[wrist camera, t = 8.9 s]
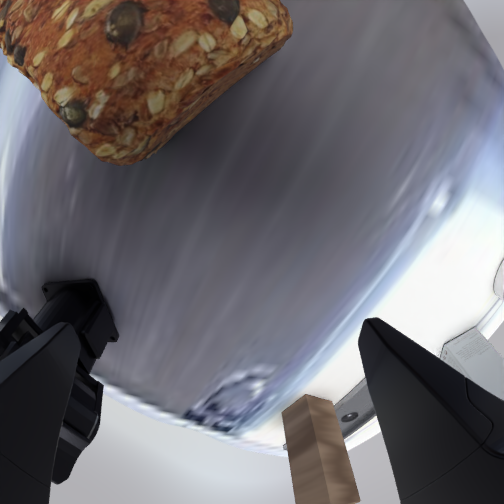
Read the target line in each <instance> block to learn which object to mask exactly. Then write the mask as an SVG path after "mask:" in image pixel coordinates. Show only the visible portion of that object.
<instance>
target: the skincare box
mask: <svg viewBox="0 0 504 504" xmlns="http://www.w3.org/2000/svg"><path fill="white" fill-rule="evenodd" d="M440 359H441V360H442V361H444V362H445V363H447V364H448V365H450V366H451V367H453V368H454V369H456V370H457V371H458V372H460V373H461V374H463V375H464V376H465V377H467V378H469V379H470V380H472V381H473V382H475V383H476V384H478V385H479V386H481V387H482V388H484V389H485V390H487V391H488V392H490V393H492V394H493V395H495V396H497V397H498V398H500V399H502V400H504V358H503V357H502V356H501V355H500V353H499V352H498V351H497V350H496V349H495V348H494V347H493V346H492V344H491V343H490V342H489V341H488V340H487V339H486V338H485V337H484V336H483V335H482V334H481V332H480V331H479V330H478V329H477V328H476V327H474V328H473V329H471V330H469V331H468V332H466V333H464V334H462V335H461V336H459V337H457V338H456V339H454V340H452V341H450V342H448V343H447V344H445V345H444V347H443V350H442V354H441V357H440Z"/></svg>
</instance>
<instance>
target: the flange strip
mask: <svg viewBox="0 0 504 504" xmlns="http://www.w3.org/2000/svg"><path fill="white" fill-rule="evenodd" d="M334 409H335V413H336V416H337V419H338V423H339V426H340V429H341V433H342V436H343V439H345V438H347V437H348V436H350V435H351V434H352V433H354V432H355V431H357V430H358V429H359V428H361V427H362V426H363V425H365V424H366V423H367V422H368V421H370V420H371V419H372V418H374V417H375V416H376V412H375V409H374V406H373V403H372V400H371V397H370V394H369V390H368V386H367V382H366V378H364V379H363V380H362V381H361V382H360V383H359V384H358V385H357V386H356V387H355V388H354V389H353V390H352V391H351V392H350V393H348V394H347V395H346V396H345V397H344V398H343V399H342V400H341V401H340V402H338V403H337V404H336V405H335V406H334ZM283 449H284V450H287V444H285V445H283Z"/></svg>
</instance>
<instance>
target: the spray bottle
mask: <svg viewBox="0 0 504 504" xmlns="http://www.w3.org/2000/svg"><path fill="white" fill-rule="evenodd" d="M494 291H495V294H496V295H497V296H498V297H499V298H500V299H501V300H502V301H503V302H504V260H503V262H502V264H501V265H500V267H499V270H498V272H497V275H496V278H495V282H494Z"/></svg>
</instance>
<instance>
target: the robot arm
mask: <svg viewBox="0 0 504 504" xmlns="http://www.w3.org/2000/svg"><path fill="white" fill-rule="evenodd" d="M91 285H92V286H93V287H91ZM42 290H43V293H44V295H45V297H46V299H47V303H46V304H45V305H44V306H43V308H42V309H41V310H40V311H39V313H38V314H37V315H36V316H35V318H34V319H32V318H31V317H30V316H29V315H28V312H27V311H26V310H25V309H24V308H23V309H22V310H21V311H20V313H19V314H18V313H17V312H14V311H12V310H10V311H9V312H8V313H7V314H6V315H5V317H4V318H3V319H2V320H1V322H0V504H49V497H50V487H51V482H53V483H55V484H60V483H62V482H63V481H65V480H67V479H68V478H69V476H70V473H71V471H72V468H73V466H74V464H75V462H76V460H77V458H78V457H79V455H80V454H81V452H82V451H83V450H84V449H85V447H87V446H88V445H89V444H90V443H91V442H92V440H93V439H94V437H95V436H96V434H97V431H98V428H99V425H100V416H101V406H102V396H103V387H104V385H103V384H101V383H100V382H99V381H96V380H95V379H94V378H93V377H91V376H90V375H89V374H90V372H91V370H92V367H93V365H94V363H95V361H96V359H100V357H101V355H102V353H103V351H104V349H105V346H106V344H107V342H117V340H118V338H119V336H118V333H117V331H116V329H115V326H114V323H113V321H112V319H111V316H110V314H109V312H108V309H107V307H106V305H105V303H104V300H103V298H102V295H101V293H100V290H99V287H98V285H97V283H96V282H95V281H94V280H79V281H65V282H51V283H44V285H43V286H42ZM358 346H359V351H360V355H361V359H362V364H363V368H364V373H365V378H366V382H367V386H368V390H369V394H370V397H371V400H372V403H373V406H374V409H375V412H376V415H377V418H378V422H379V425H380V428H381V431H382V435H383V438H384V441H385V445H386V448H387V452H388V455H389V459H390V463H391V466H392V470H393V474H394V477H395V482H396V486H397V490H398V494H399V498H400V501H401V502H400V503H401V504H504V400H502V399H500V398H498V397H497V396H495V395H493V394H492V393H490V392H488V391H487V390H485V389H484V388H482V387H481V386H479V385H478V384H476V383H475V382H473V381H472V380H470V379H469V378H467V377H465V376H464V375H463V374H461V373H460V372H458V371H457V370H456V369H454V368H453V367H451V366H450V365H448V364H447V363H445V362H444V361H442V360H441V359H439V358H438V357H436V356H435V355H434V354H432V353H431V352H429V351H428V350H426V349H425V348H423V347H422V346H420V345H419V344H417V343H416V342H414V341H413V340H411V339H410V338H408V337H407V336H405V335H404V334H402V333H401V332H399V331H398V330H396V329H395V328H393V327H392V326H390V325H389V324H387V323H386V322H384V321H383V320H381V319H380V318H377V317H375V318H367V319H365V320H364V322H363V325H362V328H361V332H360V336H359V339H358Z"/></svg>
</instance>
